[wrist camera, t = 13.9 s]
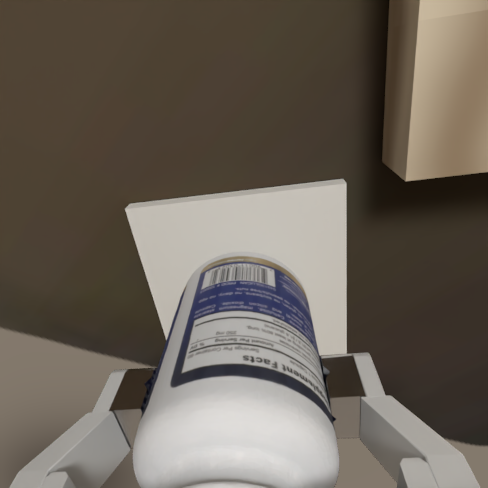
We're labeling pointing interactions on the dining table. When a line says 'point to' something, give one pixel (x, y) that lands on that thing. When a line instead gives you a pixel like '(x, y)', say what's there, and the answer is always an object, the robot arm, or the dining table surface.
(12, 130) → the dining table surface
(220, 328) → the pill bottle
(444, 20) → the socket block
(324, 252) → the pad
